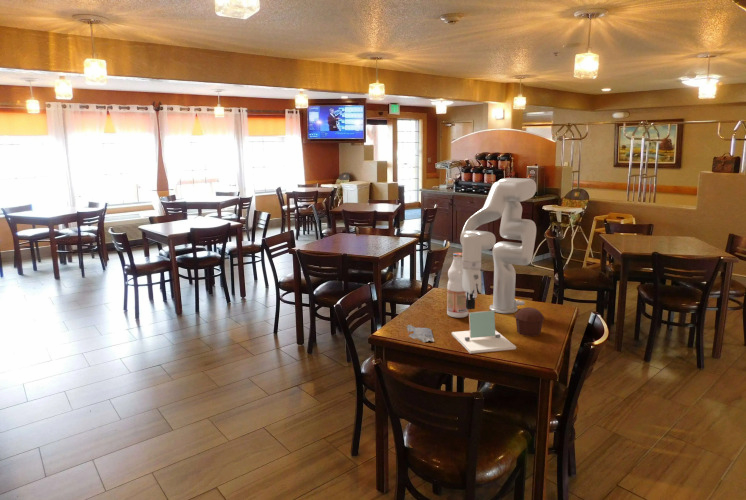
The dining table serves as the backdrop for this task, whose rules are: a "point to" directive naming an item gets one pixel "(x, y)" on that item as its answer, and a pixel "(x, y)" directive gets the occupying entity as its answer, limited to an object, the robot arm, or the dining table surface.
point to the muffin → (529, 321)
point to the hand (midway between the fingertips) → (470, 308)
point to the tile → (482, 324)
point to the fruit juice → (456, 289)
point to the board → (483, 342)
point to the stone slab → (420, 333)
